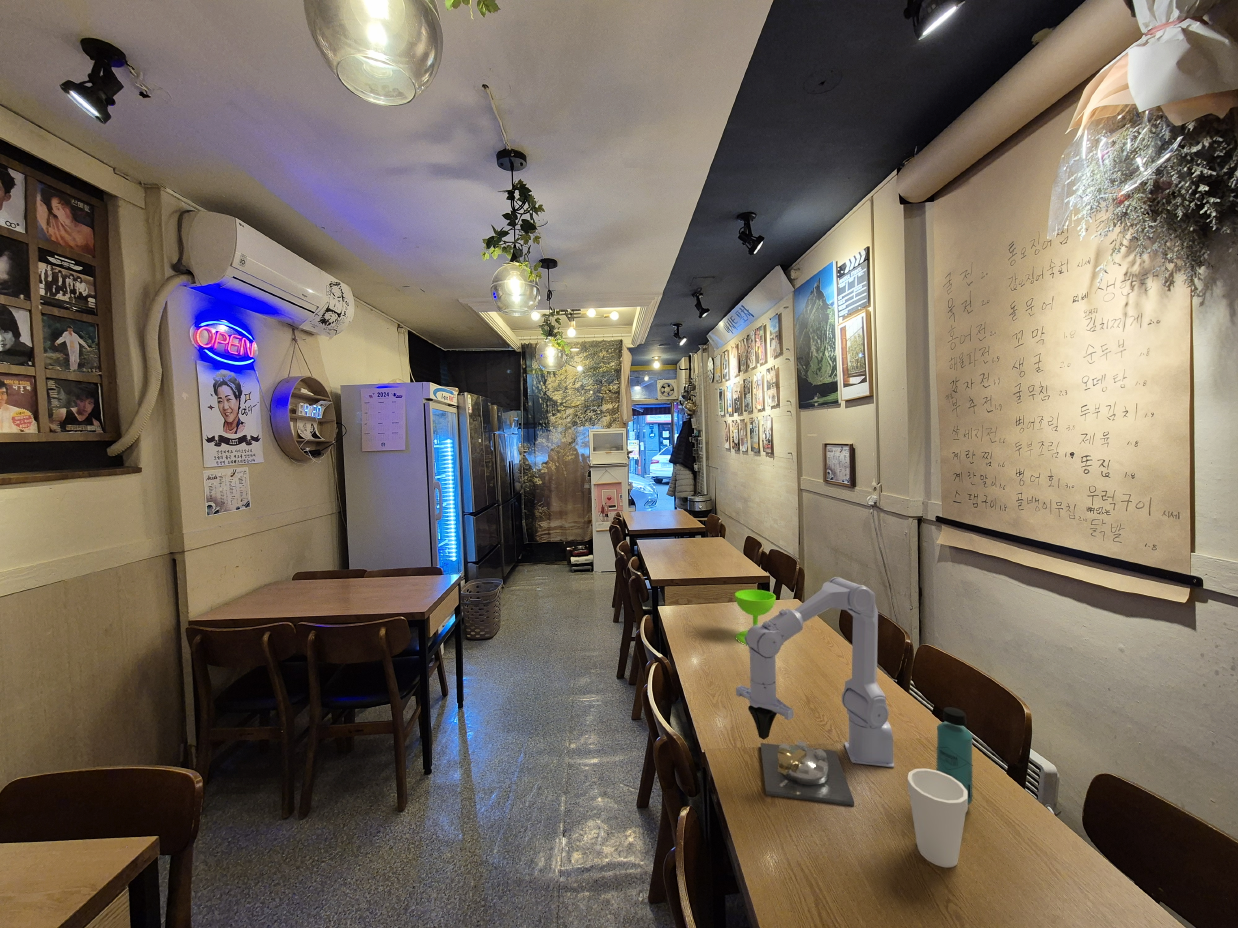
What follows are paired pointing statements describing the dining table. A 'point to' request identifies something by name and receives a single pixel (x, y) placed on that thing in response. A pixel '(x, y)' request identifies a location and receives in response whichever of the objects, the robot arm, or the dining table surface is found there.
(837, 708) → the dining table surface
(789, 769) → the metal round piece
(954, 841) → the foam cup
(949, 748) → the beverage bottle
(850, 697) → the robot arm
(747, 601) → the wineglass
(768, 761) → the dark grey square plate
